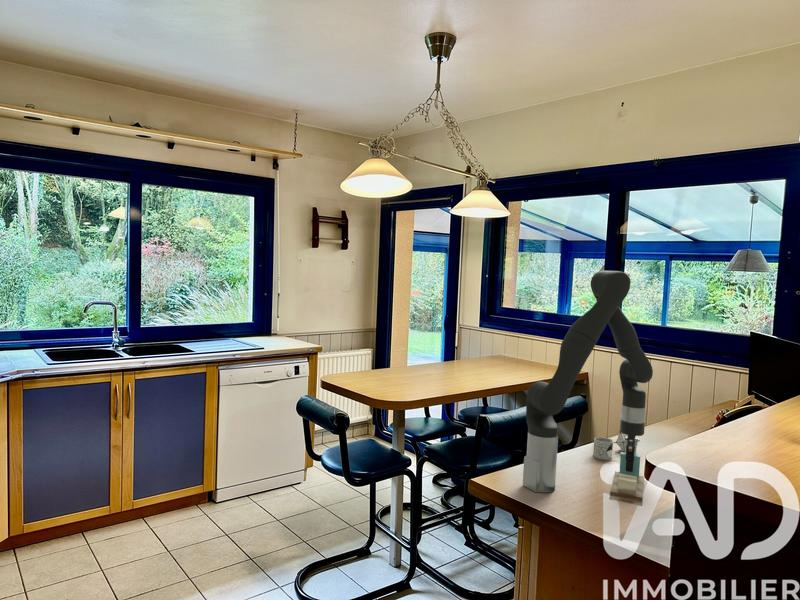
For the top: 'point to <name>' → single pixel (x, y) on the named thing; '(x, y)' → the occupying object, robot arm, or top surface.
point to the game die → (622, 441)
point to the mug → (603, 448)
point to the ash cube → (627, 484)
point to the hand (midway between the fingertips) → (629, 469)
